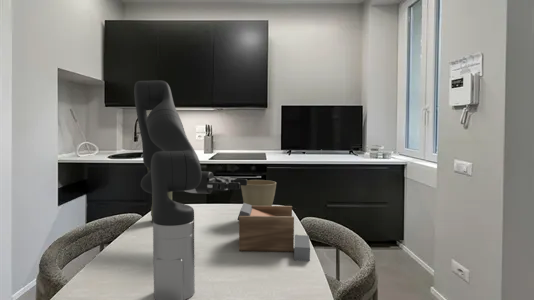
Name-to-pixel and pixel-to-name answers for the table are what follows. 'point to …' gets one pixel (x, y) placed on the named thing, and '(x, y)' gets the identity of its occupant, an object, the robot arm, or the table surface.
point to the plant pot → (259, 192)
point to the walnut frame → (267, 230)
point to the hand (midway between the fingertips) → (243, 184)
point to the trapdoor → (251, 211)
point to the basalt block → (302, 248)
